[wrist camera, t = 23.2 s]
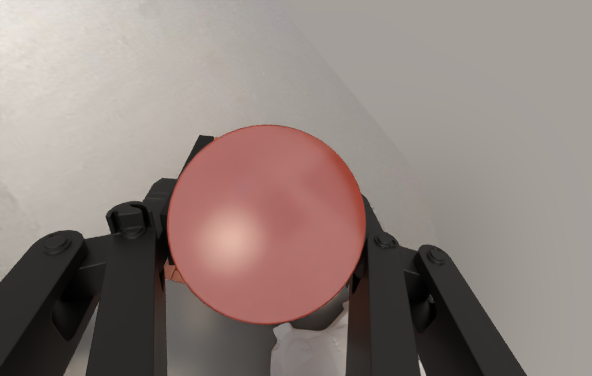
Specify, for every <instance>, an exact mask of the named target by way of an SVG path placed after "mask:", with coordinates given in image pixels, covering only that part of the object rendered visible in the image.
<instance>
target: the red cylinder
mask: <svg viewBox="0 0 592 376" xmlns="http://www.w3.org/2000/svg"><path fill="white" fill-rule="evenodd" d="M365 229H366V218H365V208H364V203H363V198H362V195H361V192H360V189H359V186H358V184H357V182H356V180H355V178H354V176H353V174H352V172H351V171H350V169H349V168H348V166H347V165H346V163H345V162H344V161H343V160H342V159H341V157H340V156H339V155H338V154H337V153H336V152H335V151H334V150H333V149H332V148H330V147H329V146H328V145H326V144H325V143H324V142H322V141H321V140H319V139H317V138H316V137H314V136H312V135H310V134H308V133H305V132H303V131H301V130H297V129H294V128H290V127H285V126H279V125H256V126H249V127H245V128H240V129H237V130H235V131H232V132H229V133H227V134H225V135H223V136H221V137H219V138H217V139H215V140H214V141H212V142H211V143H209V144H208V145H206V146H205V147H204V148H203V149H202V150H201V151H200V152H198V153H197V154H196V155H195V156H194V158H193V159H192V160H191V161H190V162H189V163H188V164H187V166H186V167H185V169H184V171H183V172H182V174H181V175H180V177H179V179H178V181H177V183H176V185H175V187H174V190H173V193H172V196H171V199H170V203H169V208H168V214H167V236H168V244H169V248H170V252H171V256H172V259H173V261H174V264H175V266H176V269H177V271H178V272H179V274H180V276H181V278H182V279H183V281H184V283H185V284H186V285H187V286H188V288H189V289H190V290H191V291H192V293H193V294H194V295H195V296H196V297H198V298H199V299H200V300H201V301H202V302H203V303H204V304H206V305H207V306H208V307H210V308H211V309H213V310H214V311H216V312H218V313H220V314H222V315H224V316H226V317H228V318H231V319H234V320H237V321H240V322H245V323H250V324H261V325H271V324H281V323H286V322H290V321H294V320H297V319H300V318H302V317H305V316H307V315H309V314H311V313H313V312H315V311H316V310H318V309H320V308H321V307H323V306H324V305H325V304H327V303H328V302H329V301H330V300H332V299H333V298H334V297H335V296H336V295H337V294H338V293H339V292H340V290H341V289H342V288H343V287H344V285H345V284H346V283H347V282H348V280H349V278H350V277H351V275H352V273H353V272H354V270H355V268H356V266H357V263H358V261H359V259H360V256H361V252H362V249H363V245H364V239H365Z"/></svg>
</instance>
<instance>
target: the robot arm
mask: <svg viewBox="0 0 592 376" xmlns="http://www.w3.org/2000/svg"><path fill="white" fill-rule="evenodd" d="M212 141H214V137H213V136H203V135H199V137H198V139H197V141H196V143H195V145H194V147H193V149H192V151H191V153H190V155H189V157H188V159H187V161H186V163H185V165H184V167H183V169H182V171H181V173H180V175H181V174H182V172H183V171H184V169H185V167H186V166H187V164H188V163H189V162H190V161H191V160H192V159H193V158H194V156H195V155H196V154H197V153H198V152H200V151H201V150H202V149H203V148H204V147H205V146H206V145H208V144H209V143H211V142H212ZM180 175H179V177H180ZM179 177H178V179H179ZM178 179H168V178H162V179H160V180H159V181H157V182H156V183H154V184H153V186H152V187H151V189H150V190H149V193H148V194H147V195H146V197H145V199H144V200H143V202H140V201H130V202H126V203H122V204H119V205H117V206H115V207H113V208H112V209H111V210H109V211H108V213H107V215H106V219H107V222H108V225H109V228H110V231H111V234H109V235H105V236H99V237H94V238H88V239H84V238H83V236H82V234H81V233H79V232H77V231H72V230H65V231H58V232H55V233H51V234H48V235H46V236H45V237H43V238H41V239H39V240H38V241H37V242H36V243H34V244H33V245H32V246H31V247H30V249H29V250H28V251H27V252H26V253H25V254H24V255H23V257H22V258H21V259H20V260H19V261H18V262H17V264H16V265H15V266H14V267H13V268H12V269H11V271H10V272H9V273H8V274H7V275H6V276H5V277H4V279H3V280H2V281H1V282H0V376H63V375H64V373H65V371H66V369H67V367H68V364H69V362H70V360H71V358H72V356H73V354H74V352H75V350H76V348H77V346H78V344H79V342H80V340H81V338H82V335H83V333H84V331H85V329H86V327H87V325H88V323H89V321H90V319H91V317H92V315H93V313H94V311H95V309H96V306H97V304H98V302H99V306H98V312H97V317H96V322H95V328H94V333H93V339H92V344H91V349H90V355H89V360H88V365H87V371H86V376H167V340H166V293H165V271H164V265H165V262H166V260H167V257H168V262H169V265H175V264H174V261H173V259H172V256H171V252H170V248H169V244H168V236H167V214H168V208H169V203H170V199H171V196H172V193H173V190H174V187H175V185H176V183H177V181H178ZM361 195H362V194H361ZM362 198H363V203H364V208H365V218H366V229H365V239H364V245H363V249H362V252H361V256H360V259H359V261H358V263H357V266H356V268H355V270H354V272H353V273H352V275H351V277H350V278H349V280H348V282H347V283H346V288H348V286H349V284H350V286H349V308H348V330H347V352H346V374H345V376H421V372H420V366H419V360H418V355H419V358H420V361H421V363H422V366H423V369H424V371H425V374H426V376H527V375H526V374H525V372H524V370H523V369H522V368H521V366H520V364H519V363H518V361H517V360H516V358H515V357H514V355H513V353H512V352H511V351H510V349H509V347H508V346H507V344H506V343H505V341H504V340H503V338H502V336H501V335H500V333H499V332H498V331H497V329H496V327H495V326H494V324H493V323H492V321H491V319H490V318H489V316H488V315H487V313H486V312H485V310H484V309H483V307H482V306H481V304H480V303H479V301H478V299H477V298H476V297H475V295H474V293H473V292H472V290H471V289H470V287H469V286H468V284H467V283H466V281H465V279H464V278H463V276H462V275H461V273H460V272H459V270H458V269H457V267H456V265H455V264H454V262H453V261H452V259H451V258H450V257H449V256H448V254H447V253H445V252H444V251H443V250H441V249H440V248H438V247H436V246H432V245H422V246H421V247H420V248H419V249H418V251H415V250H411V249H408V248H405V247H402V246H399V244H398V242H397V240H396V239H395V238H394V237H393V236H391V235H390V234H388V233H386V232H384V231H383V230H382V228H381V226H380V224H379V222H378V220H377V218H376V216H375V214H374V213H373V210H372V208H371V207H370V204H369V202H368V200H367V198H365V197H364V196H363V195H362ZM430 295H431V296H430ZM431 297H432V298H431ZM432 299H433V300H432ZM99 300H100V301H99ZM417 353H418V354H417Z"/></svg>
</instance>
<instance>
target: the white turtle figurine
mask: <svg viewBox="0 0 592 376" xmlns="http://www.w3.org/2000/svg"><path fill="white" fill-rule="evenodd" d="M342 305H343V308H344V310H343V312H342V313H341V314H340V315H339V316H338V317H337V318H336V319H335V320H334V321H333V323H332V324H331V325H330V326H329V327H328V328H326V329H324V330H322V331H312V330H304V329H294V328H293V327H292V325H291V324H290V323H288V322H287V323H284V324H282V325H279V326H277V327H275V328H274V329H273V332H274V334H275V336H276V338H277V343H276V345H275V346H274V347H273V350H271V351H272V353H271V366H270V375H271V376H345V374H346V352H347V330H348V308H349V300H348V301H347V302H344V303H342ZM418 360H419V359H418ZM419 366H420V372H421V376H426V374H425V371H424V369H423V366H422V364H421V362H420V361H419Z"/></svg>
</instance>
